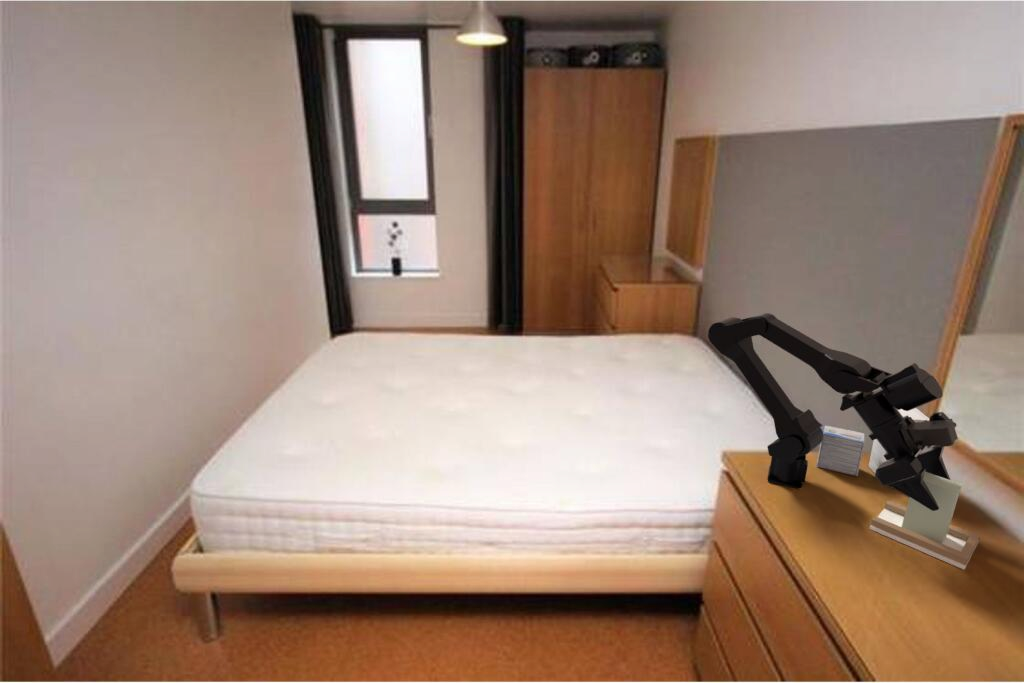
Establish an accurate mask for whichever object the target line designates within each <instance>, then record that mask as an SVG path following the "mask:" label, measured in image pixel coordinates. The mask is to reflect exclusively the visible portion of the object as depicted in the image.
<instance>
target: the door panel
mask: <svg viewBox="0 0 1024 683" xmlns="http://www.w3.org/2000/svg"><path fill="white" fill-rule="evenodd" d="M923 480H924V482H925V484H926V485H927V487H928V489H929V490H930V492H931V494H932V495H933V497H934V499H935V501H936V503H937V505H938V506H939V509H938V510H936V511H932V510H930V509H929V508H927V507H925V506H924V505H922V504H920V503H919V502H917V501H916V500H914V499H912V498H911V497H909V496H908V502H907V505H906V507H907V508H906V512H905V516H904V519H903V523H902V528H905V529H907V530H910V531H912V532H914V533H917V534H919V535H922V536H924V537H927V538H929V539H931V540H934V541H936V542H939V543H941V544H942V543H943V542H944V540H945V538H946V536H947V533H948V530H949V526H950V524H951V523H952V519H953V515H954V512H955V509H956V506H957V502H958V499H959V495H960V493H961V488H962V486H963V484H962V483H960V482H956V481H953V480H951V479H950V480H948V479H945V478H942V477H939V476H936V475H933V474H931V473H928V472H925V474H924V478H923Z"/></svg>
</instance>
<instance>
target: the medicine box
mask: <svg viewBox="0 0 1024 683" xmlns="http://www.w3.org/2000/svg"><path fill="white" fill-rule="evenodd" d="M822 431H823V439H822V442H821V443H820V444H819V451H818V456H817V462H816V467H818V468H821V469H825V470H830V471H834V472H838V473H843V474H845V475H851V476H855V477H858V476H859V472H860V466H861V463H862V462H861V461H862V457H863V453H864V448H865V444H866V434H865V433H863V432H859V431H855V430H848V429H845V428H840V427H835V426H830V425H824V426H823V429H822Z"/></svg>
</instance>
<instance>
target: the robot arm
mask: <svg viewBox="0 0 1024 683" xmlns="http://www.w3.org/2000/svg"><path fill="white" fill-rule="evenodd" d="M754 336H761V337H762V338H764V339H765V340H767V341H769V342H770V343H772V344H774V345H775V346H776V347H778V348H780V349H782V350H783V351H785V352H787V353H788V354H789V355H791V356H793V357H795V358H797V359H798V360H800V361H801V362H803V363H805V364H806V365H807V366H810V367H811V368H812V370H814V371H815V372H816V374H817V376H819V378H820V380H822V381H823V383H825V384H827V385H828V386H829V387H830V388H831V389H832V390H834V391H835V392H837V393H838V394H843V396H842V397H841V400H842V401H841V403H840V404H841V405H840V407H839V411H842V412H844V411H847V410H848V409H851V408H853V410H855V412H856V413H857V415H858V416H859V418H860V420H862V421H863V423H864V424H865V426H866V427H867V428H868V430H869V431H870V432H871V433H869V435H868V437H869V438H870V440H871V441H874V440H875V439H877V440H878V442H879V443H880V444H881V446H882V447H883V448H884V450H885V451H886V453H885V454H884V455H883V456H884V457H885V459H886V460H889V461H886V462H883V463H882V464H881V465H880V466H879V467H878V468H877V469H876V473H874V476H875V478H876V480H877V481H878V483H879V484H880V485H881V486H884V487H885V486H886V485H887V487H888V488H893V489H895V490H896V491H898V492H901V493H902V494H904V495H906V496H907V497H908V498H909V497H911V498H912V499H914V500H916V501H917V502H919V503H920V504H922V505H924V506H925V507H927V508H929V509H930V510H932V511H936V510H938V509H939V506H938V505H937V503H936V501H935V499H934V497H933V495H932V494H931V492H930V490H929V489H928V487H927V485H926V484H925V482H924V480H923V478H924V474H925V472H928V473H931V474H933V475H936V476H939V477H942V478H945V479H948V480H951V478H950V475H949V473H948V470H947V468H946V464H945V462H944V460H943V457H942V456H943V452H944V450H945V447H950V446H953V445H954V444H955V441H956V440H958V439H959V438H958V434H957V431H956V427H957V423H956V422H955V421H954V420H953V418H950V417H948V416H947V415H946V414H945V413H944V411H938V412H937V411H936V412H932V414H931V415H930V416H929V421H927V420H924V421H923V422H916V423H915V422H914V420H913V419H912V418H911V417H908V415H907V416H905V417H903V416H902V415H901V414H900V412H899V411H898V410H900V409H902V410H904V411H909V410H912V409H914V408H917V409H918V408H919V407H921V406H923V405H926V404H929V403H931V402H934V401H937V400H938V399H941V398H942V397H943V396H944V395H943V390H942V387H941V385H940V384H939V382H938V381H937V379H936V378H935V376H933V375H931V374H930V373H929V372H927V371H926V370H925V369H922V368H920V367H919V365H918V364H917V363H916V362H914V363H911V364H910V365H909V364H908V365H907V366H906V367H905V368H903V369H901V370H899V371H897V372H894V373H892V372H891V373H890V372H888V371H885V370H882V369H880V368H877V367H875V366H872V365H871V364H870V363H869V362H868V361H866V360H865V359H863V358H861V357H858V356H855V355H853V354H850V353H848V352H846V351H840V350H836V349H832V348H829V347H828V346H825V345H824V344H822V343H819V342H818V341H816V340H815V339H813V338H812V337H809V336H808V335H806V334H805V333H802V332H801V331H800V330H797V329H795V328H794V327H792V326H791V325H788V324H787V323H785V322H783V321H782V320H780V319H778V318H777V317H776V316H775V315H774V314H772V313H767V312H766V313H762V314H760V315H756V316H755V315H754V316H751V317H746V318H743V319H741V318H739V317H735V316H732V317H728V318H726V319H723V320H719V321H717V322H715V323H713V324H711V325H710V327H709V329H708V333H707V339H708V341H709V343H710V344H711V345H712V346H713V347H714V348H715V349H716V350H717V351H718V352H719V353H720V354H721V355H722V356H724V357H726V358H728V359H729V360H731V361H732V362H734V364H735V366H736V367H737V368H738V371H740V372H741V375H743V377H744V378H745V380H746V381H747V383H748V384H749V386H750V387H751V389H752V390H753V391H754V393H755V394H756V396H757V397H758V398H759V400H760V401H761V403H762V405H764V407H765V409H766V410H767V412H768V413H769V414H770V416H771V417H772V419H773V422H774V429H775V434H776V437H777V439H776V440H774V441H773V442H771V443H769V444H768V445H767V451H768V455H769V456H770V457H771V458H770V465H769V468H768V473H767V474H768V475H767V479H766V480H768V481H767V482H769V481H770V482H769V483H773V482H774V483H773V484H777V483H779V484H778V485H781V484H783V485H782V486H786V487H790V488H795V489H798V490H801V489H802V487H803V484H804V483H806V478H807V472H808V467H809V466H808V464H809V462H808V459H806V458H807V455H808V454H809V453H810V452H811V451H813V450H814V449H815V448H817V447H818V446H820V444H821V442H822V439H823V429H822V428H821V427H823V424H822V423H821V422H820V421H818V419H816V417H815V415H814V414H813V412H812V410H810V409H807V410H805V411H803V410H801V409H799V408H798V407H796V406H795V405H794V404H793V402H792V400H790V398H789V396H788V395H787V394H786V392H785V391H784V390H783V389H782V387H781V386H780V384H779V383H778V381H777V380H776V378H775V377H774V376H773V374H772V372H770V370H769V369H768V367H767V366H766V365H765V363H764V362H763V361H762V359H761V358H760V356H759V355H758V354H757V352H756V350H755V348H754V342H753V337H754ZM879 388H880V389H879ZM853 393H856V394H853ZM897 409H898V410H897ZM893 458H894V459H893ZM890 459H891V460H890Z"/></svg>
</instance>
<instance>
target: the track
mask: <svg viewBox="0 0 1024 683" xmlns="http://www.w3.org/2000/svg"><path fill="white" fill-rule="evenodd" d="M906 508H907V506H905V505H902V504H900V503H896V502H894V501H891V500H887V501H886V502H885V505H884V508H883V510H882V511H881V512H880V513H879V514H878V516H876V515H874V517H873V518H872V519H871V523H870V525H869V530H871V531H874V532H875V533H877V534H880V535H883V536H885V537H887V538H890V539H893V540H894V541H897V542H898V543H901V544H904V545H906V546H908V547H910V548H913V549H915V550H918V551H920V552H922V553H924V554H926V555H929V556H931V557H934V558H936V559H938V560H941V561H943V562H945V563H948V564H950V565H952V566H954V567H956V568H959V569H961V570H964V571H965V570H966V568H967V565H968V564H969V562H970V560H971V558H972V556H973V553H974V552H975V550H976V548H977V546H978V544H979V541H980V537H981V535H979V534H976V533H975V532H972V531H969V530H967V529H963V528H961V527H958V526H956V525H954V524H951V523H950V526H949V530H948V533H947V536H946V538H945V540H944V542H943V543H942V544H941V543H939V542H936V541H934V540H931V539H929V538H927V537H924V536H922V535H919V534H917V533H914V532H912V531H910V530H907V529H905V528H902V523H903V519H904V516H905V512H906Z"/></svg>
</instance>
